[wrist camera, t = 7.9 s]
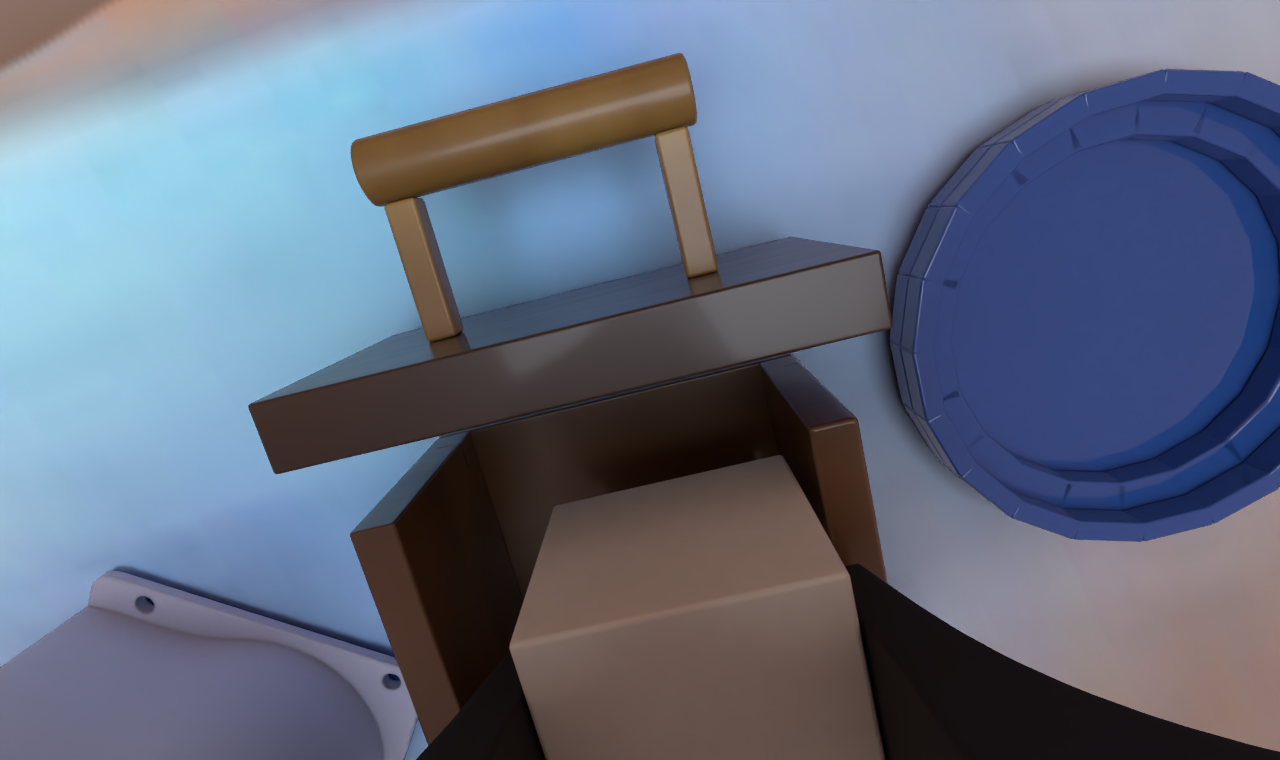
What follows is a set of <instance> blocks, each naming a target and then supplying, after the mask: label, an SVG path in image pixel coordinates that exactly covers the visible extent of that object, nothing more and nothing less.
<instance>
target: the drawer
mask: <svg viewBox="0 0 1280 760" xmlns="http://www.w3.org/2000/svg"><path fill="white" fill-rule="evenodd" d="M696 122H697V110H696V103H695V97H694V91H693V86H692V81H691V77H690V73H689V69H688V65H687V62H686V59H685V57H684V56H683V54H682V53H677V54H674V55H670V56H666V57H662V58H659V59H655V60H651V61H647V62H644V63H640V64H636V65H633V66H629V67H625V68H621V69H618V70H614V71H610V72H606V73H603V74H599V75H595V76H592V77H588V78H584V79H580V80H577V81H573V82H569V83H566V84H562V85H558V86H554V87H551V88H547V89H543V90H539V91H536V92H532V93H528V94H525V95H521V96H517V97H513V98H510V99H506V100H502V101H498V102H495V103H491V104H487V105H484V106H480V107H476V108H472V109H469V110H465V111H461V112H458V113H454V114H450V115H446V116H443V117H439V118H435V119H431V120H428V121H424V122H420V123H417V124H413V125H409V126H405V127H402V128H398V129H394V130H390V131H387V132H383V133H379V134H376V135H372V136H368V137H364V138H361V139H357V140H355V141H354V142H353V143H352V145H351V160H352V165H353V169H354V172H355V175H356V178H357V180H358V182H359V184H360V186H361V188H362V190H363V192H364V193H365V195H366V196H367V198H368V199H369V200H370V201H371V202H372V203H373V204H374V205H376V206H385V211H386V214H387V218H388V221H389V224H390V227H391V230H392V233H393V236H394V239H395V242H396V245H397V248H398V252H399V255H400V258H401V261H402V264H403V267H404V270H405V273H406V276H407V279H408V283H409V286H410V289H411V292H412V295H413V298H414V301H415V304H416V307H417V310H418V314H419V317H420V320H421V323H422V326H423V328H421V329H417V330H413V331H409V332H405V333H400V334H396V335H393V336H391V337H389V338H386V339H384V340H382V341H380V342H378V343H376V344H374V345H372V346H370V347H368V348H366V349H364V350H361V351H359V352H357V353H355V354H353V355H351V356H349V357H347V358H345V359H343V360H341V361H338V362H336V363H334V364H332V365H330V366H328V367H326V368H324V369H322V370H320V371H318V372H315V373H313V374H311V375H309V376H307V377H305V378H303V379H301V380H299V381H297V382H295V383H293V384H290V385H288V386H286V387H284V388H282V389H280V390H278V391H276V392H274V393H272V394H270V395H267V396H265V397H263V398H261V399H259V400H257V401H255V402H253V403H251V404H250V405H249V410H250V413H251V415H252V418H253V421H254V423H255V426H256V428H257V431H258V433H259V436H260V438H261V441H262V443H263V446H264V449H265V451H266V454H267V456H268V459H269V461H270V464H271V466H272V469H273V472H274V473H275V474H280V473H285V472H289V471H293V470H297V469H302V468H306V467H310V466H314V465H318V464H323V463H327V462H331V461H335V460H339V459H344V458H348V457H352V456H356V455H361V454H365V453H369V452H373V451H377V450H382V449H386V448H390V447H394V446H399V445H403V444H407V443H411V442H415V441H420V440H424V439H428V438H432V437H437V436H440V437H439V439H437V440H436V442H435V443H434V444H433V445H432V446H431V447H430V448H429V449H428V450H427V451H426V452H425V453H424V454H423V456H422V457H421V458H420V459H419V460H418V461H417V462H416V463H415V464H414V465H413V466H412V467H411V468H410V470H409V471H408V472H407V473H406V474H405V475H404V476H403V477H402V478H401V479H400V480H399V481H398V482H397V484H396V485H395V486H394V487H393V488H392V489H391V490H390V491H389V492H388V493H387V494H386V495H385V496H384V498H383V499H382V500H381V501H380V502H379V503H378V504H377V505H376V506H375V507H374V508H373V509H372V510H371V512H370V513H369V514H368V515H367V516H366V517H365V518H364V519H363V520H362V521H361V522H360V523H359V524H358V526H357V527H356V528H355V529H354V530H353V531H352V532H351V533H350V537H351V540H352V542H353V545H354V548H355V551H356V553H357V556H358V559H359V561H360V564H361V567H362V569H363V572H364V575H365V577H366V580H367V583H368V585H369V588H370V591H371V593H372V596H373V599H374V601H375V604H376V607H377V609H378V612H379V615H380V617H381V620H382V623H383V625H384V628H385V631H386V634H387V636H388V639H389V642H390V644H391V647H392V650H393V652H394V655H395V658H396V660H397V663H398V666H399V668H400V671H401V674H402V676H403V679H404V682H405V684H406V687H407V690H408V692H409V695H410V698H411V700H412V703H413V706H414V708H415V711H416V714H417V716H418V719H419V722H420V725H421V727H422V730H423V733H424V735H425V738H426V741H427V743H428V746H429V745H430V744H431V743H432V742H433V740H434V739H435V738H436V737H437V736H438V735H439V734H440V733H441V732H442V731H443V729H444V728H445V727H446V726H447V725H448V724H449V723H450V722H451V721H452V719H453V718H454V717H455V716H456V715H457V714H458V712H459V711H460V710H461V709H462V708H463V706H464V705H465V704H466V703H467V702H468V700H469V699H470V698H471V697H472V696H473V694H474V693H475V692H476V691H477V689H478V688H479V687H480V686H481V685H482V683H483V682H484V681H485V680H486V679H487V677H488V676H489V675H490V674H491V672H492V671H493V670H494V669H495V667H496V666H497V665H498V664H499V662H500V661H501V660H502V659H503V657H504V656H505V655H506V654H507V653H508V651H509V650H510V649H509V646H510V642H511V639H512V635H513V632H514V629H515V626H516V623H517V620H518V617H519V614H520V611H521V608H522V604H523V601H524V598H525V595H526V592H527V589H528V586H529V583H530V580H531V576H532V573H533V570H534V567H535V564H536V561H537V558H538V555H539V552H540V548H541V545H542V542H543V539H544V536H545V533H546V530H547V527H548V524H549V521H550V517H551V514H552V511H553V508H554V507H555V506H556V505H561V504H565V503H569V502H574V501H578V500H583V499H587V498H591V497H596V496H600V495H605V494H609V493H613V492H618V491H622V490H627V489H631V488H635V487H640V486H644V485H649V484H653V483H658V482H662V481H666V480H671V479H675V478H680V477H684V476H688V475H693V474H697V473H702V472H706V471H710V470H715V469H719V468H724V467H728V466H732V465H737V464H741V463H746V462H750V461H755V460H759V459H763V458H768V457H772V456H777V455H782V456H783V457H784V458H785V460H786V462H787V464H788V466H789V467H790V469H791V471H792V473H793V475H794V476H795V478H796V480H797V482H798V484H799V485H800V487H801V489H802V491H803V493H804V494H805V496H806V498H807V500H808V501H809V503H810V505H811V507H812V509H813V510H814V512H815V514H816V516H817V518H818V519H819V521H820V523H821V525H822V527H823V528H824V530H825V532H826V534H827V536H828V537H829V539H830V541H831V543H832V545H833V546H834V548H835V550H836V552H837V553H838V555H839V557H840V559H841V561H842V562H843V564H844V566H848V565H852V564H857V563H858V564H860V565H861V566H863V567H864V568H866V569H867V570H869V571H870V572H872V573H873V574H875V575H876V576H877V577H879V578H880V579H882V580H883V581H884V582H886V583H887V578H886V572H885V567H884V561H883V556H882V550H881V545H880V539H879V534H878V528H877V523H876V517H875V512H874V506H873V501H872V495H871V490H870V484H869V479H868V473H867V468H866V462H865V457H864V451H863V446H862V440H861V435H860V429H859V424H858V420H857V418H856V417H855V416H854V415H853V414H852V413H851V412H850V411H849V410H848V409H847V408H846V407H845V406H844V405H843V404H842V403H841V402H840V401H839V400H838V399H837V398H836V397H835V396H833V395H832V394H831V393H830V392H829V391H828V390H827V389H826V388H825V387H824V386H823V385H822V384H821V383H820V382H819V381H818V380H817V379H816V378H815V377H814V376H813V375H812V374H811V373H810V372H809V371H808V370H807V369H806V368H805V367H804V366H803V365H802V364H801V363H800V362H799V361H798V360H796V359H795V358H794V357H793V355H792V354H791V352H795V351H799V350H804V349H808V348H812V347H816V346H821V345H825V344H829V343H833V342H837V341H842V340H846V339H850V338H854V337H858V336H863V335H867V334H871V333H875V332H880V331H884V330H888V329H891V328H892V318H891V312H890V306H889V300H888V294H887V288H886V282H885V276H884V270H883V264H882V257H881V253H880V251H878V250H872V249H865V248H859V247H853V246H846V245H840V244H834V243H828V242H821V241H815V240H809V239H802V238H796V237H787V238H783V239H779V240H775V241H771V242H767V243H763V244H759V245H755V246H751V247H747V248H743V249H739V250H735V251H731V252H727V253H723V254H719V255H715V250H714V245H713V241H712V236H711V232H710V227H709V222H708V218H707V213H706V209H705V204H704V200H703V195H702V190H701V186H700V181H699V177H698V172H697V168H696V163H695V158H694V154H693V149H692V145H691V140H690V135H689V131H688V129H687V127H688V126H692V125H694V124H696ZM654 135H655V145H656V149H657V154H658V158H659V162H660V167H661V171H662V176H663V180H664V184H665V189H666V193H667V197H668V202H669V206H670V210H671V215H672V219H673V223H674V228H675V232H676V236H677V241H678V245H679V250H680V254H681V258H682V263H683V264H679V265H675V266H671V267H667V268H663V269H658V270H654V271H650V272H646V273H642V274H638V275H634V276H630V277H626V278H622V279H618V280H614V281H610V282H606V283H602V284H598V285H594V286H590V287H586V288H582V289H578V290H574V291H570V292H566V293H562V294H558V295H554V296H550V297H546V298H542V299H538V300H534V301H529V302H525V303H521V304H517V305H513V306H509V307H505V308H501V309H497V310H493V311H489V312H485V313H481V314H477V315H473V316H469V317H465V318H460V315H459V312H458V309H457V305H456V302H455V299H454V296H453V293H452V289H451V286H450V283H449V280H448V276H447V273H446V270H445V267H444V263H443V260H442V257H441V254H440V250H439V247H438V244H437V241H436V238H435V234H434V231H433V228H432V225H431V221H430V218H429V215H428V212H427V208H426V205H425V202H424V200H423V199H422V198H416V197H420V196H424V195H428V194H432V193H435V192H439V191H443V190H447V189H451V188H455V187H458V186H462V185H466V184H470V183H474V182H478V181H481V180H485V179H489V178H493V177H497V176H500V175H504V174H508V173H512V172H516V171H520V170H523V169H527V168H531V167H535V166H539V165H543V164H546V163H550V162H554V161H558V160H562V159H566V158H569V157H573V156H577V155H581V154H585V153H589V152H592V151H596V150H600V149H604V148H608V147H612V146H615V145H619V144H623V143H627V142H631V141H634V140H638V139H642V138H646V137H650V136H654Z"/></svg>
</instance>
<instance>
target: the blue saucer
mask: <svg viewBox="0 0 1280 760" xmlns="http://www.w3.org/2000/svg"><path fill="white" fill-rule="evenodd" d="M890 341H891V342H890V347H891V351H892V356H893V361H894V366H895V370H896V375H897V380H898V385H899V389H900V394H901V399H902V402H903V403H904V407H905V409H906V410H907V412H908V414H909V415H910V417H911V418H912V420H913V422H914V423H915V425H916V427H917V428H918V430H919V431H920V433H921V435H922V436H923V438H924V440H925V441H926V443H927V445H928V446H929V448H930V449H931V451H932V453H933V454H934V455H935V456H936V457H937V458H938V459H939V460H940V461H941V462H942V463H944V464H945V465H946V466H947V467H948V468H949V469H951V470H952V471H953V472H954V473H955V474H957V475H958V476H959V477H960V478H961V479H963V480H964V481H965V482H966V483H968V484H969V485H970V486H971V487H973V488H974V489H975V490H976V491H978V492H979V493H980V494H981V495H983V496H984V497H985V498H986V499H988V500H989V501H990V502H991V503H993V504H994V505H995V506H996V507H998V508H999V509H1000V510H1001V511H1003V512H1004V513H1005V514H1007V515H1008V516H1010V517H1011V518H1013V519H1016V520H1019V521H1022V522H1025V523H1028V524H1030V525H1033V526H1036V527H1039V528H1042V529H1045V530H1047V531H1050V532H1053V533H1056V534H1059V535H1062V536H1064V537H1067V538H1070V539H1077V540H1106V541H1136V542H1141V541H1148V540H1152V539H1156V538H1160V537H1164V536H1168V535H1172V534H1176V533H1180V532H1184V531H1188V530H1192V529H1196V528H1200V527H1204V526H1208V525H1212V523H1217V522H1219V521H1220V520H1222V519H1224V518H1226V517H1228V516H1229V515H1231V514H1233V513H1235V512H1237V511H1239V510H1240V509H1242V508H1244V507H1246V506H1248V505H1250V504H1251V503H1253V502H1255V501H1257V500H1259V499H1261V498H1262V497H1264V496H1266V495H1268V494H1270V493H1272V492H1273V491H1275V490H1277V489H1278V488H1279V487H1280V85H1277V84H1275V83H1272V82H1270V81H1268V80H1265V79H1263V78H1260V77H1258V76H1256V75H1253V74H1251V73H1248V72H1242V71H1214V70H1183V69H1165V70H1158V71H1155V72H1151V73H1147V74H1144V75H1140V76H1137V77H1133V78H1130V79H1126V80H1123V81H1119V82H1115V83H1112V84H1109V85H1105V86H1102V87H1099V88H1095V89H1092V90H1088V91H1085V92H1082V93H1078V94H1075V95H1072V96H1068V97H1065V98H1061V99H1058V100H1055V101H1051V102H1048V103H1047V104H1045V105H1041V106H1039V107H1038V108H1036V109H1035V110H1033V111H1032V112H1030V113H1028V114H1027V115H1025V116H1024V117H1022V118H1021V119H1019V120H1018V121H1016V122H1015V123H1013V124H1012V125H1010V126H1009V127H1007V128H1006V129H1004V130H1003V131H1001V132H1000V133H998V134H997V135H995V136H994V137H992V138H991V139H989V140H988V141H986V142H985V143H983V144H982V145H980V146H979V147H978V148H977V149H975V150H974V152H973V153H972V154H971V155H970V156H969V157H968V159H967V160H966V161H965V162H964V163H963V164H962V166H961V167H960V168H959V169H958V170H957V172H956V173H955V174H954V175H953V176H952V177H951V179H950V180H949V181H948V182H947V183H946V184H945V186H944V187H943V188H942V189H941V190H940V191H939V193H938V194H937V195H936V196H935V197H934V199H933V200H932V201H931V202H930V203H929V205H928V208H927V209H926V210H925V213H924V215H923V217H922V219H921V222H920V224H919V226H918V228H917V231H916V233H915V235H914V237H913V240H912V242H911V244H910V246H909V249H908V251H907V253H906V255H905V258H904V260H903V262H902V264H901V267H900V269H899V274H898V275H897V281H896V289H895V297H894V306H893V314H892V328H891V331H890Z"/></svg>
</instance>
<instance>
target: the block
mask: <svg viewBox="0 0 1280 760" xmlns="http://www.w3.org/2000/svg"><path fill="white" fill-rule="evenodd" d="M509 649H510V652H511V655H512V658H513V661H514V664H515V667H516V670H517V673H518V676H519V680H520V683H521V686H522V689H523V692H524V695H525V698H526V701H527V704H528V707H529V710H530V713H531V716H532V719H533V722H534V725H535V728H536V731H537V734H538V737H539V740H540V743H541V746H542V749H543V752H544V756H545V759H546V760H886V759H885V753H884V748H883V743H882V738H881V733H880V728H879V723H878V718H877V712H876V707H875V702H874V697H873V692H872V687H871V682H870V676H869V671H868V666H867V661H866V656H865V651H864V646H863V641H862V635H861V630H860V625H859V620H858V615H857V610H856V605H855V599H854V594H853V589H852V584H851V579H850V575H849V573H848V571H847V570H846V568H845V566H844V564H843V562H842V561H841V559H840V557H839V555H838V553H837V552H836V550H835V548H834V546H833V545H832V543H831V541H830V539H829V537H828V536H827V534H826V532H825V530H824V528H823V527H822V525H821V523H820V521H819V519H818V518H817V516H816V514H815V512H814V510H813V509H812V507H811V505H810V503H809V501H808V500H807V498H806V496H805V494H804V493H803V491H802V489H801V487H800V485H799V484H798V482H797V480H796V478H795V476H794V475H793V473H792V471H791V469H790V467H789V466H788V464H787V462H786V460H785V458H784V457H783V456H782V455H777V456H772V457H768V458H763V459H759V460H755V461H750V462H746V463H741V464H737V465H732V466H728V467H724V468H719V469H715V470H710V471H706V472H702V473H697V474H693V475H688V476H684V477H680V478H675V479H671V480H666V481H662V482H658V483H653V484H649V485H644V486H640V487H635V488H631V489H627V490H622V491H618V492H613V493H609V494H605V495H600V496H596V497H591V498H587V499H583V500H578V501H574V502H569V503H565V504H561V505H556V506H555V507H554V508H553V511H552V514H551V517H550V521H549V524H548V527H547V530H546V533H545V536H544V539H543V542H542V545H541V548H540V552H539V555H538V558H537V561H536V564H535V567H534V570H533V573H532V576H531V580H530V583H529V586H528V589H527V592H526V595H525V598H524V601H523V604H522V608H521V611H520V614H519V617H518V620H517V623H516V626H515V629H514V632H513V635H512V639H511V642H510V646H509Z"/></svg>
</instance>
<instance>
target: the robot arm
mask: <svg viewBox="0 0 1280 760" xmlns="http://www.w3.org/2000/svg"><path fill="white" fill-rule="evenodd" d="M845 568H846V570H847V571H848V573H849V575H850V579H851V584H852V589H853V594H854V599H855V605H856V610H857V615H858V620H859V625H860V630H861V635H862V641H863V646H864V651H865V656H866V661H867V666H868V671H869V676H870V682H871V687H872V692H873V697H874V702H875V707H876V712H877V718H878V723H879V728H880V733H881V738H882V743H883V748H884V753H885V759H886V760H1280V752H1278V751H1274V750H1269V749H1265V748H1261V747H1257V746H1253V745H1249V744H1245V743H1242V742H1238V741H1235V740H1231V739H1228V738H1224V737H1221V736H1217V735H1213V734H1210V733H1206V732H1203V731H1199V730H1196V729H1192V728H1189V727H1185V726H1182V725H1179V724H1176V723H1173V722H1170V721H1167V720H1163V719H1160V718H1157V717H1154V716H1151V715H1148V714H1145V713H1142V712H1139V711H1136V710H1134V709H1131V708H1128V707H1125V706H1123V705H1120V704H1117V703H1114V702H1112V701H1109V700H1106V699H1103V698H1101V697H1098V696H1095V695H1092V694H1090V693H1087V692H1085V691H1082V690H1080V689H1077V688H1075V687H1072V686H1070V685H1068V684H1065V683H1063V682H1061V681H1058V680H1056V679H1054V678H1052V677H1049V676H1047V675H1045V674H1043V673H1041V672H1038V671H1036V670H1034V669H1032V668H1029V667H1027V666H1025V665H1023V664H1021V663H1019V662H1017V661H1014V660H1012V659H1010V658H1008V657H1006V656H1004V655H1002V654H1000V653H999V652H997V651H995V650H993V649H991V648H989V647H987V646H986V645H984V644H982V643H980V642H978V641H976V640H975V639H973V638H971V637H969V636H967V635H966V634H964V633H962V632H960V631H959V630H957V629H955V628H954V627H952V626H950V625H949V624H947V623H946V622H944V621H942V620H941V619H939V618H938V617H936V616H935V615H933V614H931V613H930V612H928V611H927V610H925V609H923V608H922V607H920V606H919V605H917V604H916V603H914V602H913V601H912V600H910V599H909V598H907V597H906V596H904V595H903V594H901V593H900V592H898V591H897V590H896V589H894V588H893V587H891V586H890V585H889V584H887V583H886V582H884V581H883V580H882V579H880V578H879V577H877V576H876V575H875V574H873V573H872V572H870V571H869V570H867V569H866V568H864V567H863V566H861V565H860V564H858V563H857V564H852V565H848V566H845ZM145 596H146V597H148V598H150V599H151V600H152V601H153V603H154V605H152V604H150V603H148V601H147V600H146V598H145ZM388 674H395V675H397V676H398V677H399V679H400V680H399V681H397V680H393V679H391V678H389V676H388ZM417 720H418V716H417V714H416V711H415V708H414V706H413V703H412V700H411V698H410V695H409V692H408V690H407V687H406V684H405V682H404V679H403V676H402V674H401V671H400V668H399V666H398V663H397V660H396V658H395V657H391V656H388V655H385V654H382V653H379V652H375V651H372V650H369V649H366V648H363V647H360V646H356V645H353V644H350V643H347V642H344V641H340V640H337V639H334V638H331V637H328V636H325V635H321V634H318V633H315V632H312V631H309V630H306V629H302V628H299V627H296V626H293V625H290V624H286V623H283V622H280V621H277V620H274V619H271V618H267V617H264V616H261V615H258V614H255V613H251V612H248V611H245V610H242V609H239V608H236V607H232V606H229V605H226V604H223V603H220V602H216V601H213V600H210V599H207V598H204V597H201V596H197V595H194V594H191V593H188V592H185V591H182V590H178V589H175V588H172V587H169V586H166V585H162V584H159V583H156V582H153V581H150V580H147V579H143V578H140V577H137V576H134V575H131V574H127V573H124V572H121V571H109V572H107V573H105V574H104V575H102V576H101V577H99V578H98V579H96V580H95V581H94V582H93V585H92V587H91V592H90V597H89V603H88V607H86V608H84V609H83V610H81V611H80V612H79V613H77V614H76V615H74V616H73V617H71V618H70V619H69V620H67V621H66V622H64V623H63V624H61V625H60V626H59V627H57V628H56V629H54V630H53V631H51V632H50V633H49V634H47V635H46V636H44V637H43V638H41V639H40V640H39V641H37V642H36V643H34V644H33V645H32V646H30V647H29V648H27V649H26V650H24V651H23V652H22V653H20V654H19V655H17V656H16V657H14V658H13V659H12V660H10V661H9V662H7V663H6V664H4V665H3V666H2V667H0V760H404V759H405V756H406V753H407V750H408V747H409V744H410V741H411V738H412V735H413V732H414V729H415V726H416V723H417ZM416 760H546V759H545V756H544V752H543V749H542V746H541V743H540V740H539V737H538V734H537V731H536V728H535V725H534V722H533V719H532V716H531V713H530V710H529V707H528V704H527V701H526V698H525V695H524V692H523V689H522V686H521V683H520V680H519V676H518V673H517V670H516V667H515V664H514V661H513V658H512V655H511V652H510V650H509V651H508V653H507V654H506V655H505V656H504V657H503V659H502V660H501V661H500V662H499V664H498V665H497V666H496V667H495V669H494V670H493V671H492V672H491V674H490V675H489V676H488V677H487V679H486V680H485V681H484V682H483V683H482V685H481V686H480V687H479V688H478V689H477V691H476V692H475V693H474V694H473V696H472V697H471V698H470V699H469V700H468V702H467V703H466V704H465V705H464V706H463V708H462V709H461V710H460V711H459V712H458V714H457V715H456V716H455V717H454V718H453V719H452V721H451V722H450V723H449V724H448V725H447V726H446V727H445V728H444V729H443V731H442V732H441V733H440V734H439V735H438V736H437V737H436V738H435V739H434V740H433V742H432V743H431V744H430V745H429V746H428V747H427V748H426V749H425V750H424V752H423V753H422V754H421V755H420V756H419V757H418V758H417V759H416Z"/></svg>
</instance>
